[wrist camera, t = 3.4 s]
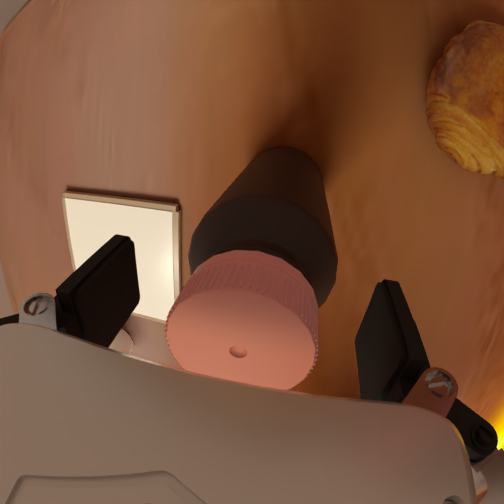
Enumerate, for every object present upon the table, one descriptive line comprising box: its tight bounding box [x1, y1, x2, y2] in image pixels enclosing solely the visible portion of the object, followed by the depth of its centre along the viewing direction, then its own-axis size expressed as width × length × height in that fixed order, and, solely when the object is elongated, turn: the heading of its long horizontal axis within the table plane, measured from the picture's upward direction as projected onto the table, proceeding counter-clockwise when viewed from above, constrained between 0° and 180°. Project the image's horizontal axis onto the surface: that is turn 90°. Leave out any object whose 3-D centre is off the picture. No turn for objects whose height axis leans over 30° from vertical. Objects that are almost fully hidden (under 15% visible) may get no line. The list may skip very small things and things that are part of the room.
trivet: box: [62, 191, 182, 324], centre depth 33 cm, size 15×15×1 cm
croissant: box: [425, 20, 504, 179], centre depth 17 cm, size 14×16×8 cm
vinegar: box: [165, 147, 338, 390], centre depth 18 cm, size 7×7×20 cm
